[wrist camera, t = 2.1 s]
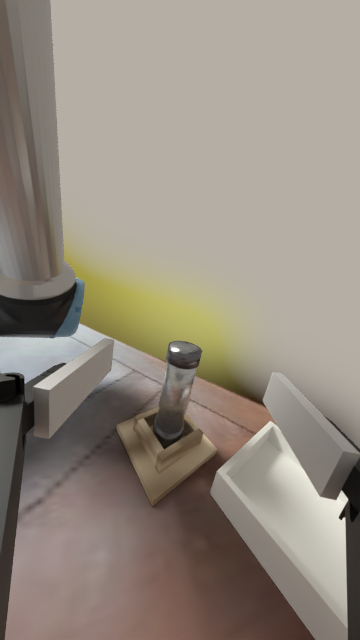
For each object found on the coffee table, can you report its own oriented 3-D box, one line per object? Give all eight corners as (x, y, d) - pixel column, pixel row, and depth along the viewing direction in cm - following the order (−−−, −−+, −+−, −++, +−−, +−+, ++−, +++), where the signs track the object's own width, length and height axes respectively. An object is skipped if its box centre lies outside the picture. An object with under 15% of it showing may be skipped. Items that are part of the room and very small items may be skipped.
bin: (209, 493, 23) (217, 470, 22) (263, 437, 33) (270, 421, 32) (392, 746, 11) (425, 723, 10) (387, 540, 22) (403, 518, 21)
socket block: (116, 429, 29) (118, 411, 28) (172, 405, 37) (175, 391, 36) (152, 506, 20) (156, 485, 20) (215, 453, 28) (221, 437, 27)
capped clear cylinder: (146, 431, 29) (162, 342, 25) (169, 420, 32) (186, 339, 28) (162, 457, 25) (183, 358, 21) (186, 441, 28) (208, 352, 24)
